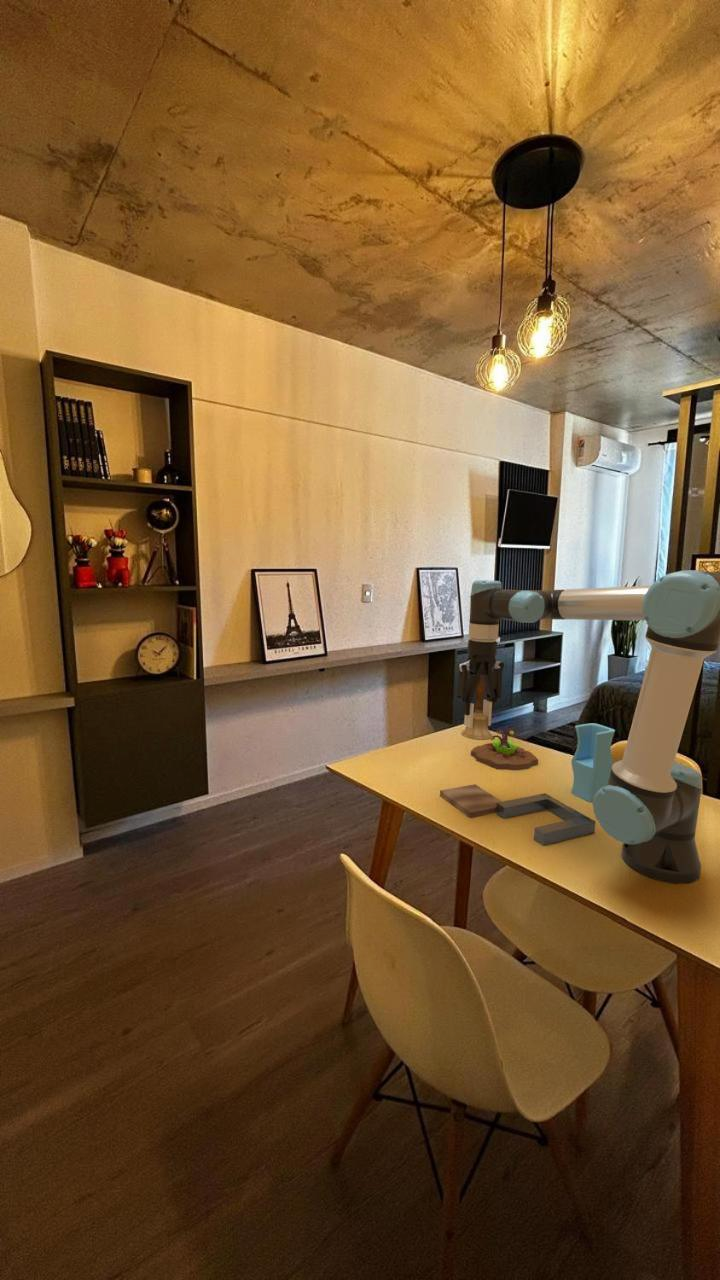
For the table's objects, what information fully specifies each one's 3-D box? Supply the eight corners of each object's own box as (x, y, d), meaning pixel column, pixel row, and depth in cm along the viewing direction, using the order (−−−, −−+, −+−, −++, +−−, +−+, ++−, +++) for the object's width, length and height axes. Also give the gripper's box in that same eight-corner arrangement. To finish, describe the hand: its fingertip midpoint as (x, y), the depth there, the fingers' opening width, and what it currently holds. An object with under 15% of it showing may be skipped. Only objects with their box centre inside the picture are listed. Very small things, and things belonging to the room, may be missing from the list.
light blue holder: (568, 792, 152) (574, 725, 149) (587, 787, 156) (593, 722, 153) (591, 803, 145) (598, 733, 142) (610, 798, 149) (617, 730, 146)
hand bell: (489, 731, 144) (493, 674, 142) (494, 741, 136) (498, 681, 134) (459, 729, 145) (462, 673, 143) (462, 739, 137) (465, 679, 135)
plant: (499, 775, 164) (502, 740, 163) (462, 754, 182) (464, 722, 180) (547, 766, 173) (550, 733, 171) (508, 747, 190) (510, 717, 189)
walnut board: (506, 810, 140) (507, 804, 139) (469, 817, 135) (470, 812, 134) (474, 789, 152) (475, 784, 152) (439, 795, 147) (440, 790, 147)
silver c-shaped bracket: (594, 832, 129) (595, 821, 128) (542, 845, 122) (543, 833, 122) (544, 803, 144) (545, 793, 144) (496, 813, 137) (496, 802, 137)
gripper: (501, 636, 144) (495, 718, 147) (445, 638, 137) (440, 724, 140) (520, 640, 137) (513, 726, 141) (462, 642, 130) (456, 733, 133)
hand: (477, 725), depth 140 cm, fingers closed on hand bell, 5 cm apart
